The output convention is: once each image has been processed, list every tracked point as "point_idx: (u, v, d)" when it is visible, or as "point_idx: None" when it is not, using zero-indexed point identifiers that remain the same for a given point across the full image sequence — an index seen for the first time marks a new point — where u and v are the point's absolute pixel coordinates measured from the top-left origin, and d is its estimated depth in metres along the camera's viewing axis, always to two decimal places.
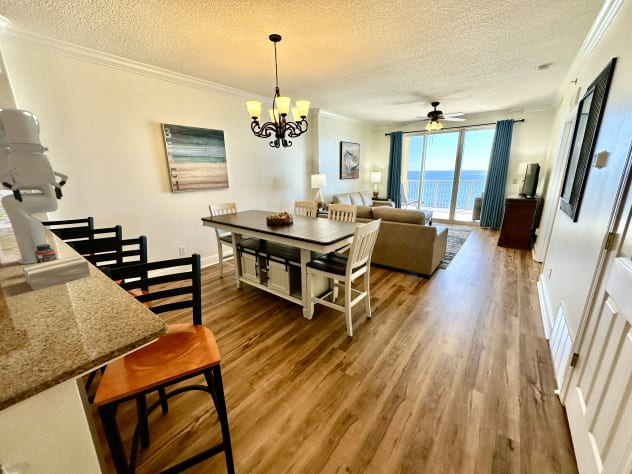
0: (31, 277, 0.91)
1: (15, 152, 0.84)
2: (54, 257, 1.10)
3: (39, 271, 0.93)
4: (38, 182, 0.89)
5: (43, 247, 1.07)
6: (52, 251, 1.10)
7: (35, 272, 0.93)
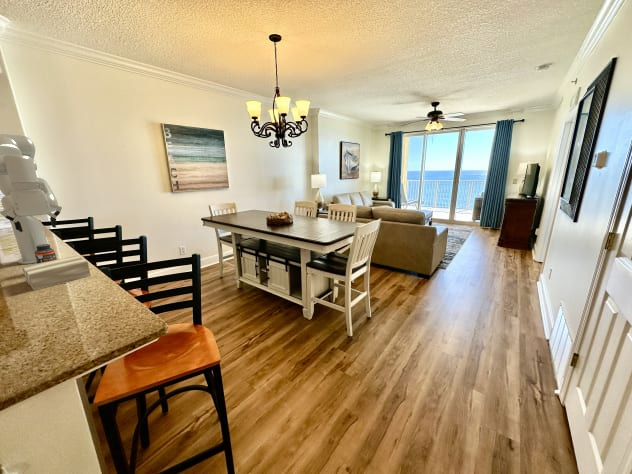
0: (31, 277, 0.91)
1: (16, 190, 0.99)
2: (54, 257, 1.10)
3: (39, 271, 0.93)
4: (36, 214, 1.04)
5: (43, 247, 1.07)
6: (52, 251, 1.10)
7: (35, 272, 0.93)
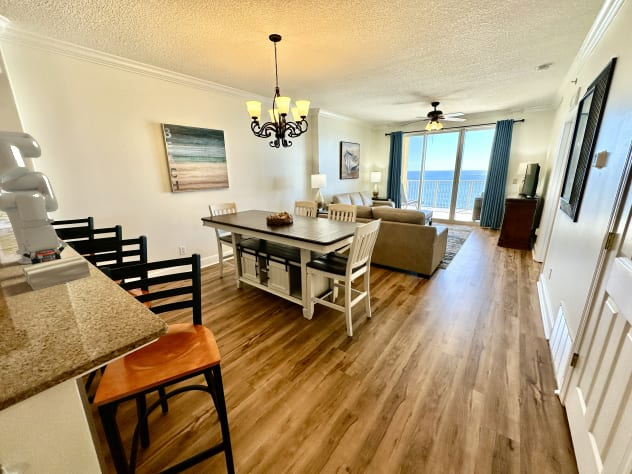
0: (31, 277, 0.91)
1: (27, 228, 1.03)
2: (54, 257, 1.10)
3: (39, 271, 0.93)
4: (45, 249, 1.08)
5: None
6: (52, 251, 1.10)
7: (35, 272, 0.93)
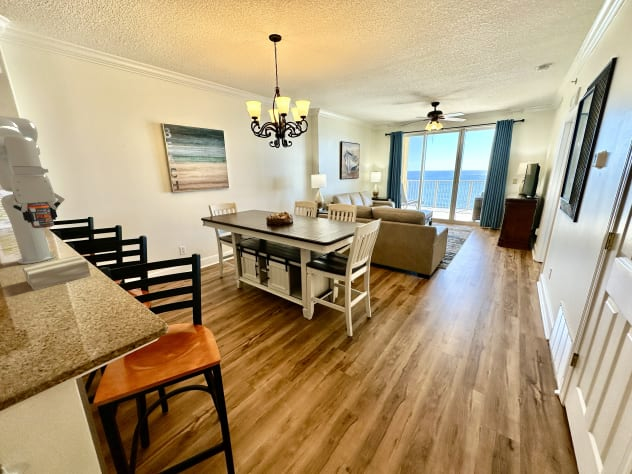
0: (31, 277, 0.91)
1: (17, 175, 0.90)
2: (49, 212, 0.98)
3: (39, 271, 0.93)
4: None
5: None
6: (46, 205, 0.97)
7: (35, 272, 0.93)
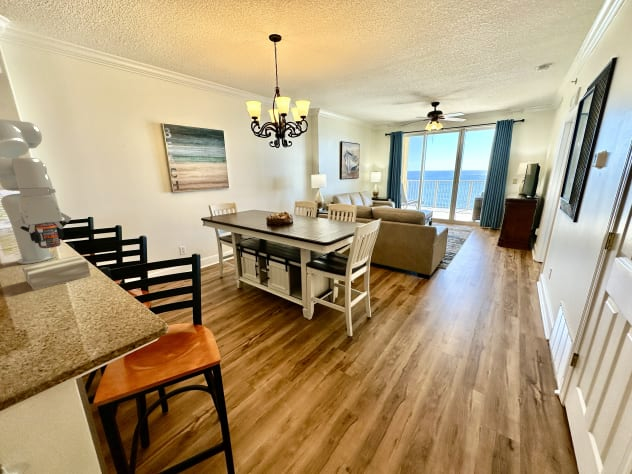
0: (31, 277, 0.91)
1: (25, 196, 0.90)
2: (56, 232, 0.98)
3: (39, 271, 0.93)
4: None
5: None
6: (53, 225, 0.97)
7: (35, 272, 0.93)
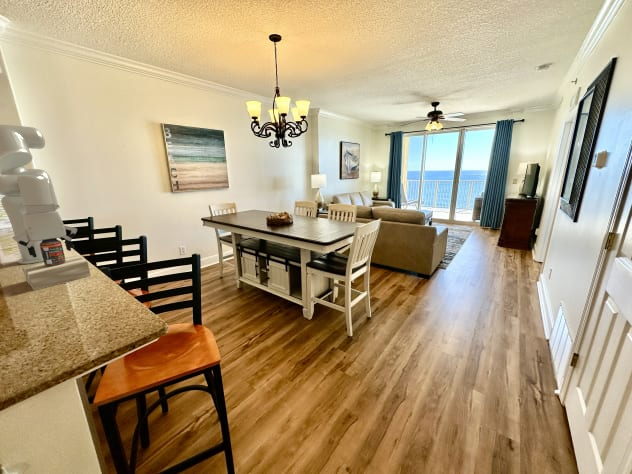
0: (31, 277, 0.91)
1: (30, 213, 0.92)
2: (61, 250, 1.00)
3: (39, 271, 0.93)
4: (50, 238, 0.97)
5: None
6: (59, 243, 0.99)
7: (35, 272, 0.93)
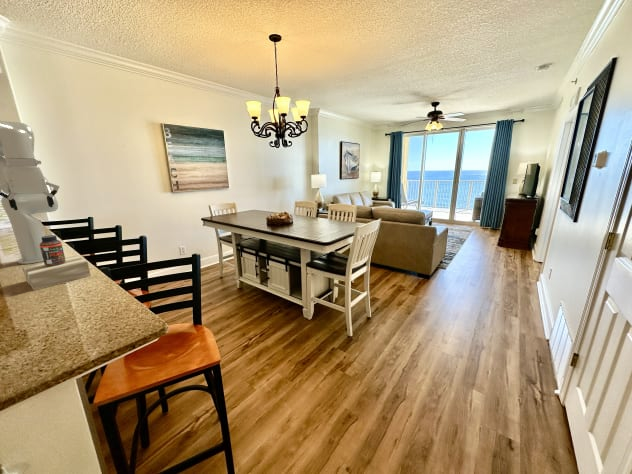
0: (31, 277, 0.91)
1: (11, 166, 0.94)
2: (61, 250, 1.00)
3: (39, 271, 0.93)
4: (32, 192, 0.99)
5: (49, 238, 0.97)
6: (59, 243, 0.99)
7: (35, 272, 0.93)
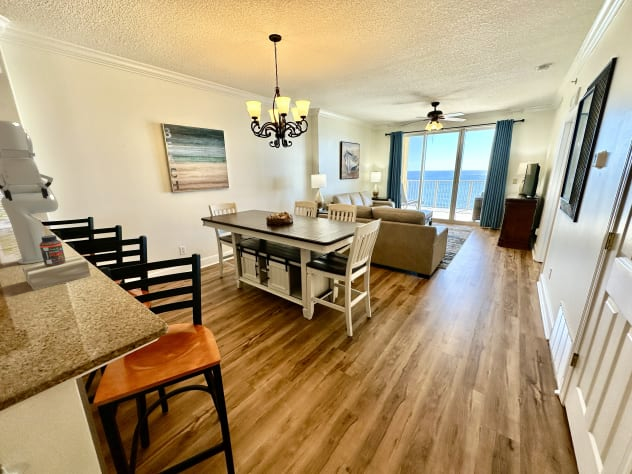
0: (31, 277, 0.91)
1: (5, 157, 0.97)
2: (61, 250, 1.00)
3: (39, 271, 0.93)
4: (26, 183, 1.02)
5: (49, 238, 0.97)
6: (59, 243, 0.99)
7: (35, 272, 0.93)
